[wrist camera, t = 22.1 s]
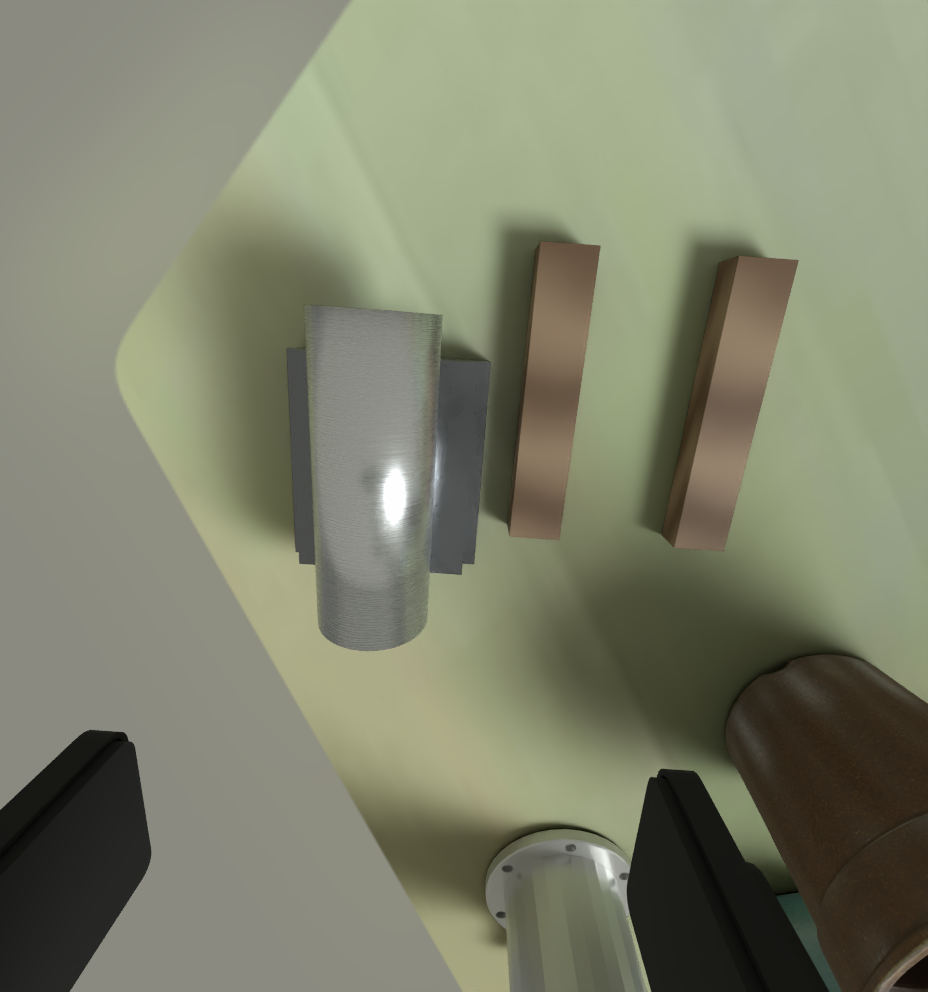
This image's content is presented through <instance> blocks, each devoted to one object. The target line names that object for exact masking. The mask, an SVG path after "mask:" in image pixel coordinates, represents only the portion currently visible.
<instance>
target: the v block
mask: <svg viewBox="0 0 928 992" xmlns="http://www.w3.org/2000/svg"><path fill="white" fill-rule="evenodd" d="M490 365H491V362H490V361H479V360H465V359H451V358H440V378H439V398H438V418H437V437H436V457H435V477H434V497H433V517H432V537H431V557H430V573H445V574H459V575H461V574H462V563H464V564H474V559H475V547H476V535H477V523H478V511H479V499H480V487H481V474H482V462H483V450H484V438H485V426H486V414H487V401H488V389H489V377H490ZM287 369H288V391H289V414H290V436H291V458H292V481H293V503H294V526H295V548H296V552H299V564H313V565H315V544H314V521H313V498H312V475H311V452H310V430H309V407H308V384H307V361H306V348H287Z"/></svg>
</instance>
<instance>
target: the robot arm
mask: <svg viewBox="0 0 928 992" xmlns="http://www.w3.org/2000/svg"><path fill="white" fill-rule="evenodd" d="M150 859H151V846H150V840H149V833H148V827H147V821H146V814H145V808H144V802H143V795H142V789H141V783H140V777H139V770H138V764H137V758H136V751H135V746H134V744H133V743H132V742H129V741H128V738H127V735H126V734H125V733H124V732H112V731H98V730H97V731H96V730H89V731H86V732H84V733H83V734H81V735H80V736H79V737H78V738H77V739H75V740H74V741H73V742H72V743H71V744H70V745H69V746H68V747H67V748H66V749H65V750H64V751H63V752H61V753H60V755H58V756H57V757H56V758H55V759H54V760H53V761H52V762H51V763H50V764H49V765H48V766H47V767H46V768H45V769H43V770H42V772H40V773H39V774H38V775H37V776H36V777H35V778H34V779H33V780H32V781H31V782H30V783H29V784H28V785H26V787H24V788H23V789H22V790H21V791H20V792H19V793H18V794H17V795H16V796H15V797H14V798H13V799H12V800H11V801H9V803H7V804H6V805H5V806H4V807H3V808H2V809H1V810H0V992H70V990H71V989H72V987H73V986H74V984H75V982H76V981H77V979H78V978H79V976H80V975H81V973H82V971H83V970H84V968H85V967H86V965H87V964H88V962H89V961H90V959H91V958H92V956H93V954H94V953H95V951H96V950H97V948H98V947H99V945H100V944H101V942H102V941H103V939H104V938H105V936H106V934H107V933H108V931H109V930H110V928H111V927H112V925H113V924H114V922H115V920H116V919H117V917H118V916H119V914H120V913H121V911H122V910H123V908H124V907H125V905H126V903H127V902H128V900H129V899H130V897H131V896H132V894H133V893H134V891H135V889H136V888H137V886H138V885H139V883H140V882H141V880H142V879H143V877H144V875H145V873H146V871H147V869H148V866H149V863H150ZM485 896H486V902H487V906H488V908H489V911H490V913H491V915H492V916H493V917H494V918H495V920H496V921H497V922H498V923H499V924H500V925H501V926H502V927H503V928H505V929H506V934H507V951H508V967H509V984H510V992H647V990H646V986H645V983H644V979H643V975H642V972H641V968H640V964H639V961H638V957H637V953H636V950H635V946H634V942H633V938H632V935H631V931H630V927H629V924H628V920H627V917H628V916H629V914H630V916H631V920H632V924H633V927H634V931H635V934H636V938H637V942H638V945H639V949H640V952H641V956H642V960H643V963H644V967H645V970H646V974H647V977H648V981H649V985H650V988H651V992H829V990H828V988H827V986H826V984H825V983H824V981H823V979H822V977H821V976H820V974H819V972H818V970H817V968H816V967H815V965H814V963H813V961H812V960H811V958H810V956H809V954H808V952H807V951H806V949H805V947H804V945H803V943H802V942H801V940H800V938H799V936H798V935H797V933H796V931H795V929H794V927H793V926H792V924H791V922H790V920H789V919H788V917H787V915H786V913H785V911H784V910H783V908H782V906H781V904H780V903H779V901H778V899H777V897H776V895H775V894H774V892H773V890H772V888H771V887H770V885H769V883H768V881H767V880H766V878H765V877H764V875H763V874H762V872H761V871H760V870H759V869H758V868H757V867H756V866H755V865H754V864H752V863H749V862H745V860H744V858H743V857H742V855H741V853H740V851H739V849H738V847H737V846H736V844H735V842H734V840H733V838H732V836H731V834H730V833H729V831H728V829H727V827H726V825H725V823H724V821H723V820H722V818H721V816H720V814H719V812H718V810H717V808H716V807H715V805H714V803H713V801H712V799H711V797H710V795H709V794H708V792H707V790H706V788H705V786H704V784H703V782H702V781H701V779H700V777H699V776H698V774H697V773H695V772H694V771H686V770H671V769H661V770H660V771H659V772H658V775H657V778H655V777H651V778H650V779H649V781H648V785H647V789H646V794H645V799H644V804H643V809H642V814H641V818H640V823H639V828H638V833H637V838H636V843H635V847H634V852H633V857H632V862H630V861H629V859H628V858H627V856H626V855H625V854H624V853H623V852H622V851H621V849H620V848H619V847H617V846H616V845H614V844H613V843H611V842H610V841H608V840H607V839H604V838H602V837H600V836H597V835H595V834H592V833H588V832H584V831H580V830H570V829H554V830H546V831H541V832H536V833H533V834H530V835H527V836H524V837H522V838H520V839H518V840H516V841H514V842H512V843H511V844H510V845H508V846H507V847H506V848H504V849H503V850H502V851H501V852H500V853H499V854H498V855H497V856H496V857H495V858H494V859H493V861H492V863H491V865H490V866H489V868H488V871H487V875H486V879H485Z"/></svg>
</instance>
